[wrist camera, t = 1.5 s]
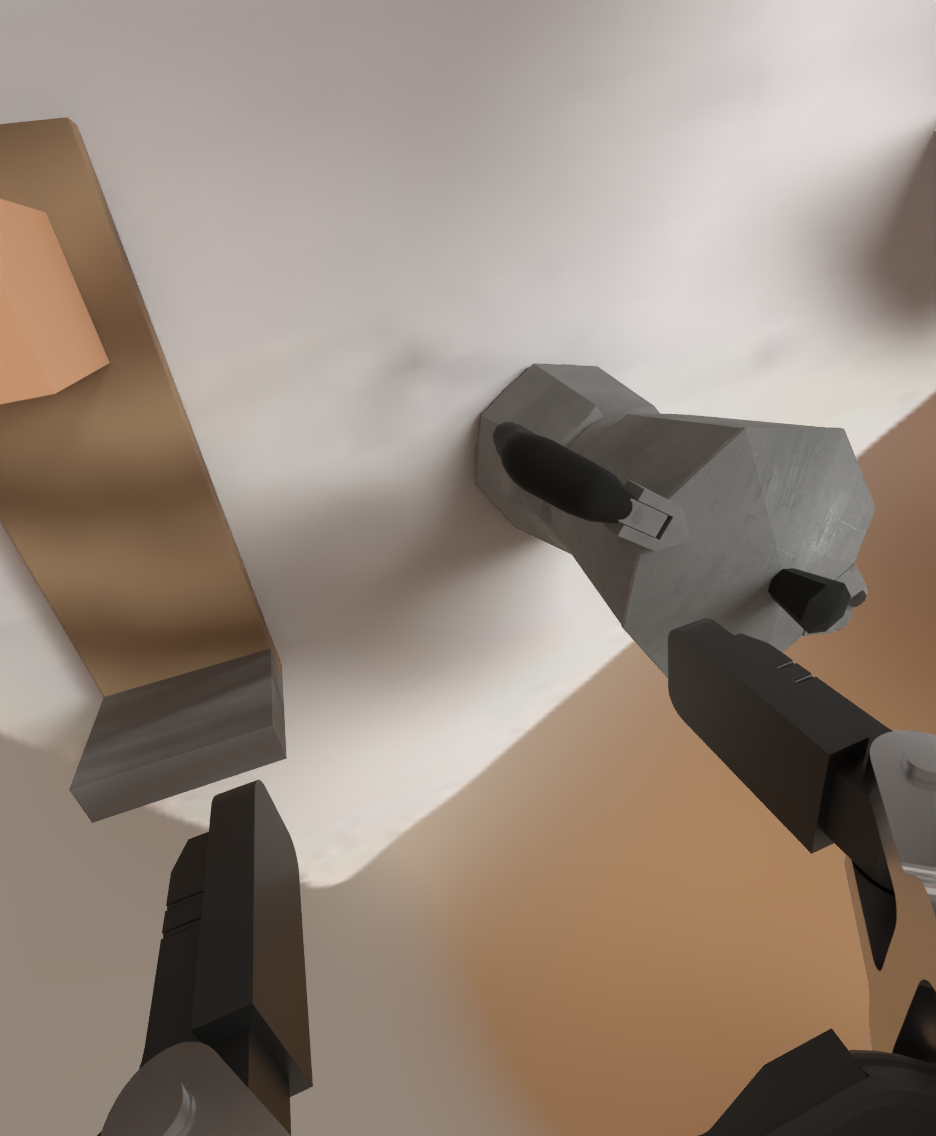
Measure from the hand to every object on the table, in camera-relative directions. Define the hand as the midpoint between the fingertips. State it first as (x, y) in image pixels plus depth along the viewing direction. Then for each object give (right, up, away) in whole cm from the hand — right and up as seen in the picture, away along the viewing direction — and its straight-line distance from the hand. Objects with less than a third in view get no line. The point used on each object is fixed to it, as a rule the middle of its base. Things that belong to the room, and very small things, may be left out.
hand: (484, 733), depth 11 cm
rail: (-16, +7, +14) cm, 23 cm away
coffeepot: (+3, +10, +20) cm, 23 cm away
